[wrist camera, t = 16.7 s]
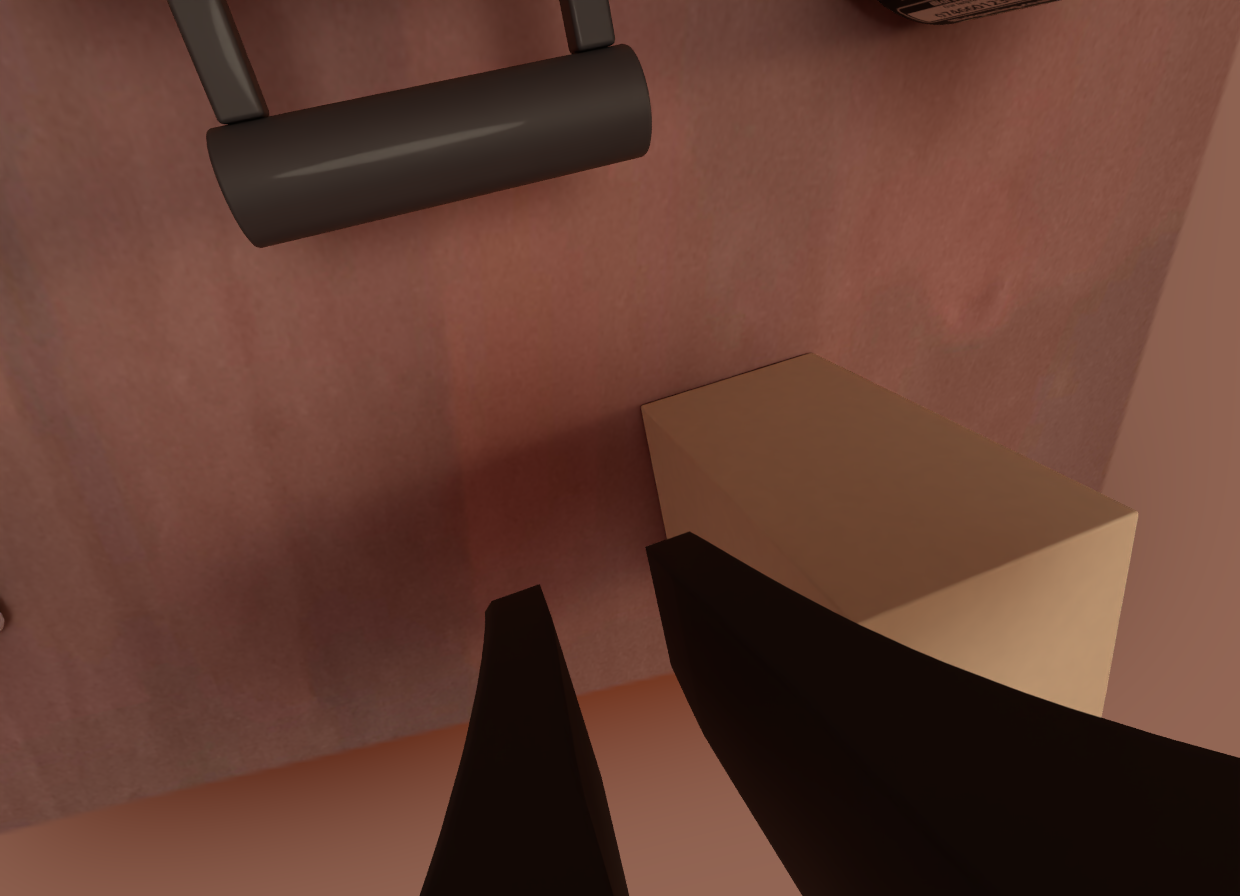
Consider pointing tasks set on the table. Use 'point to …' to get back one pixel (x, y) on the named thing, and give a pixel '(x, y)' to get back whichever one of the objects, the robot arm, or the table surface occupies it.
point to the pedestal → (900, 522)
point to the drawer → (413, 130)
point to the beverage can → (955, 9)
